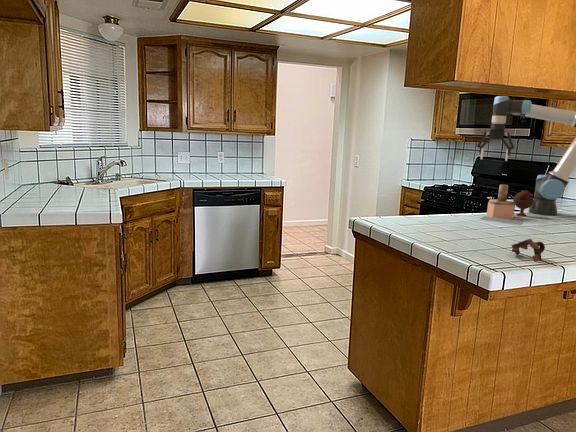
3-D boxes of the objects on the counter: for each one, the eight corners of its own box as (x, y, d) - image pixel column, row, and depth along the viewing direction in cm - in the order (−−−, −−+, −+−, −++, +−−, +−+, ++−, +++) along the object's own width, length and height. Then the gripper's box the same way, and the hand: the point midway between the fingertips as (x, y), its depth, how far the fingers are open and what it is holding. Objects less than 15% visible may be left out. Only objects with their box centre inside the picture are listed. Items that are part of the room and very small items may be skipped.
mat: (524, 222, 238) (524, 221, 238) (520, 225, 227) (521, 224, 227) (484, 216, 249) (484, 215, 249) (479, 220, 238) (479, 219, 238)
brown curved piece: (530, 264, 158) (520, 242, 159) (512, 268, 167) (503, 247, 168) (556, 254, 161) (546, 233, 163) (537, 259, 170) (527, 238, 172)
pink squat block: (514, 217, 252) (516, 203, 251) (510, 220, 242) (512, 205, 240) (489, 214, 259) (491, 200, 258) (485, 217, 249) (486, 202, 247)
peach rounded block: (516, 203, 250) (518, 185, 249) (512, 206, 240) (515, 187, 238) (491, 200, 257) (493, 183, 256) (486, 203, 247) (489, 184, 245)
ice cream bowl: (536, 217, 256) (540, 191, 253) (522, 217, 252) (525, 191, 249) (520, 213, 266) (524, 188, 263) (506, 214, 261) (510, 188, 259)
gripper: (474, 122, 265) (470, 158, 268) (521, 123, 251) (516, 161, 255) (477, 123, 271) (472, 158, 275) (522, 124, 257) (517, 161, 261)
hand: (493, 160), depth 265 cm, fingers open, 13 cm apart
